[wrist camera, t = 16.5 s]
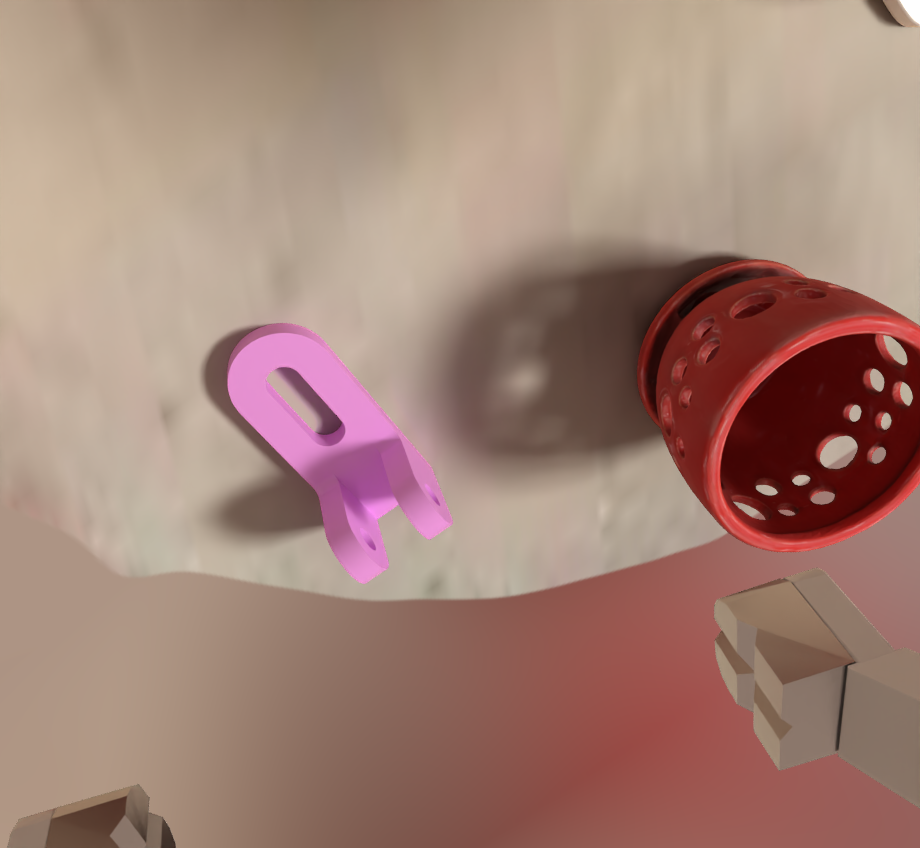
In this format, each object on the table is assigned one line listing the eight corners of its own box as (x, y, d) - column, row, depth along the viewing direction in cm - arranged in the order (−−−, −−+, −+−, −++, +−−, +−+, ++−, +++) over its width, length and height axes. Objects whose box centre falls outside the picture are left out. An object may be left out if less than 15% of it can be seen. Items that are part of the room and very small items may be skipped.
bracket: (430, 466, 50) (459, 537, 44) (354, 519, 51) (372, 596, 45) (291, 301, 43) (303, 359, 37) (204, 364, 44) (202, 432, 38)
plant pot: (826, 215, 48) (988, 292, 38) (802, 414, 55) (934, 524, 45) (607, 258, 46) (717, 351, 36) (611, 459, 53) (704, 585, 43)
